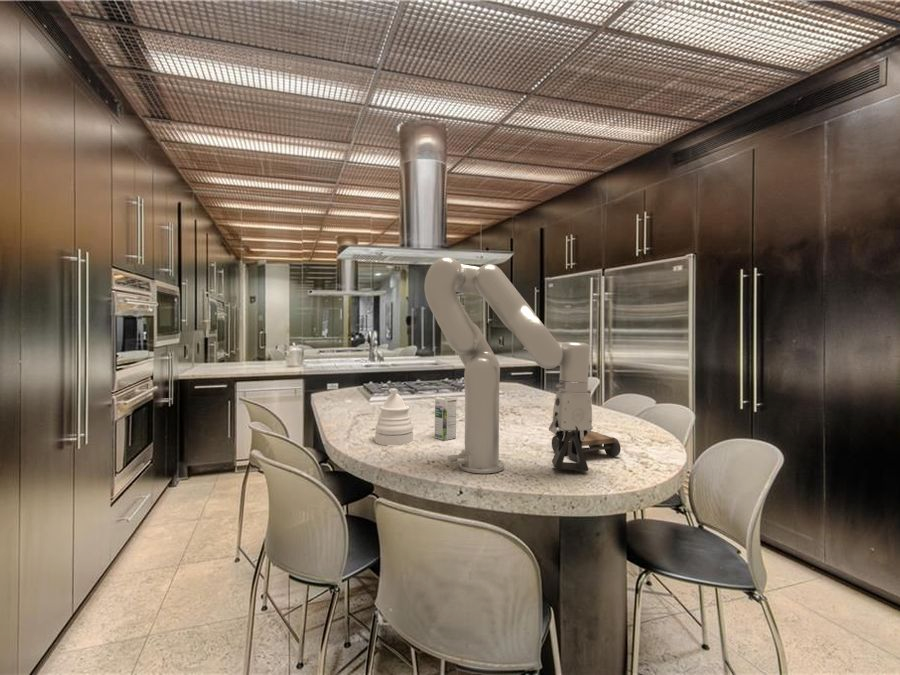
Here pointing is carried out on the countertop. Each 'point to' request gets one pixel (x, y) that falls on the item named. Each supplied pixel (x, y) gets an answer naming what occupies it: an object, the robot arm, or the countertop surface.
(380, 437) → the honey pot
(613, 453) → the trolley
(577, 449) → the dark brown a-frame stand
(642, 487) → the countertop surface
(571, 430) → the robot arm
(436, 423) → the syrup box
